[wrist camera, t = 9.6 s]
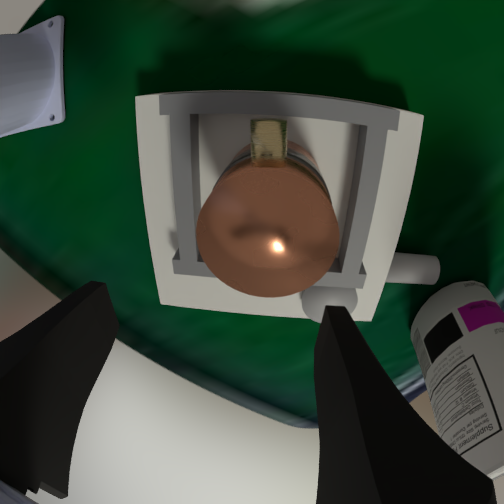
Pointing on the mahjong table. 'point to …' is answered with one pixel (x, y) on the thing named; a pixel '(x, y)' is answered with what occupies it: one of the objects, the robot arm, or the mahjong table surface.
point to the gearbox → (331, 167)
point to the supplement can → (465, 371)
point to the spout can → (269, 217)
